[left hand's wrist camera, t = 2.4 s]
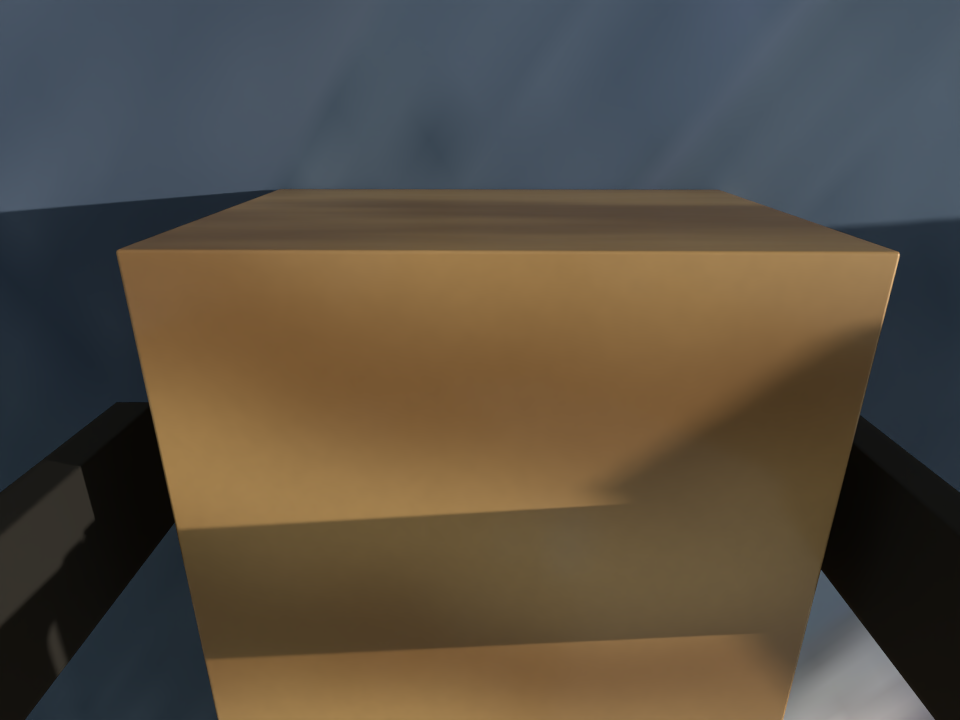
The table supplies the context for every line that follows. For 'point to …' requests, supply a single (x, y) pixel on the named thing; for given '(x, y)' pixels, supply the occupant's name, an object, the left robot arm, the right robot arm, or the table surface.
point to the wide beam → (504, 446)
